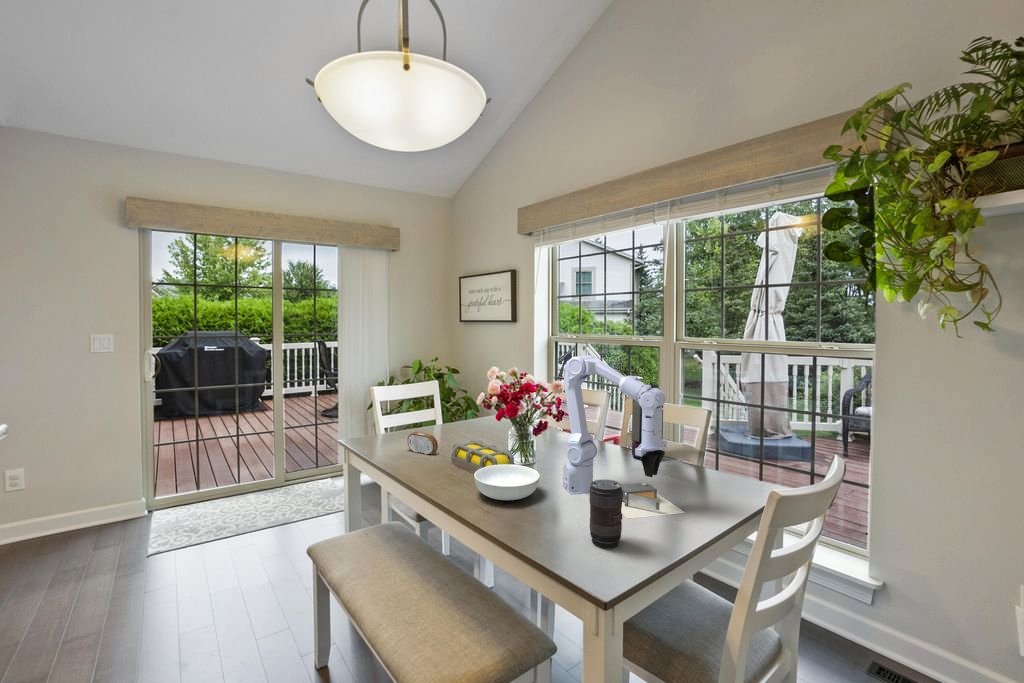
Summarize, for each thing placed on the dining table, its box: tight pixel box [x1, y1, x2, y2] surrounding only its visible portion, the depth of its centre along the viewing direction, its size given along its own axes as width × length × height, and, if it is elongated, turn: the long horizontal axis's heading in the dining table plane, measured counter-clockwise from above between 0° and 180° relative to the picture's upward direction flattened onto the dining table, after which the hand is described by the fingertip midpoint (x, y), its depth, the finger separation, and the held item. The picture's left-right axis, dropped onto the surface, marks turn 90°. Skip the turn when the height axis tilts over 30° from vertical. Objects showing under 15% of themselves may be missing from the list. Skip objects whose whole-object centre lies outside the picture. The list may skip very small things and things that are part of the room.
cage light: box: [450, 439, 516, 475], centre depth 180 cm, size 15×8×30 cm
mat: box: [621, 493, 686, 519], centre depth 144 cm, size 18×16×1 cm
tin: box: [407, 431, 439, 455], centre depth 199 cm, size 15×3×8 cm, turn 58°
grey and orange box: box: [621, 482, 658, 503], centre depth 148 cm, size 11×6×5 cm, turn 103°
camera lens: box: [589, 479, 623, 550], centre depth 120 cm, size 8×8×15 cm
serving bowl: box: [473, 464, 541, 501], centre depth 153 cm, size 21×21×7 cm
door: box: [625, 493, 660, 512], centre depth 141 cm, size 10×1×4 cm, turn 58°
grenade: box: [631, 383, 664, 459], centre depth 192 cm, size 14×12×30 cm
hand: (651, 475), depth 142 cm, fingers closed
